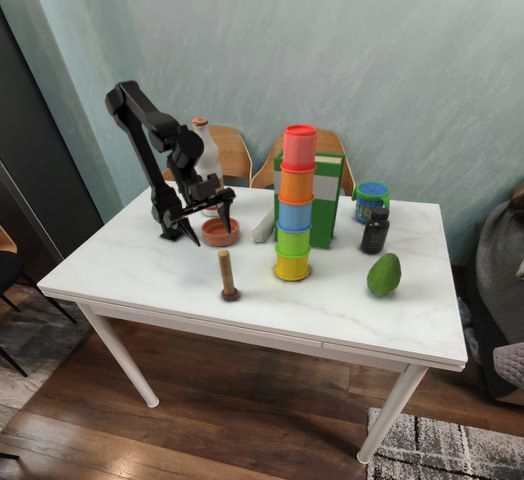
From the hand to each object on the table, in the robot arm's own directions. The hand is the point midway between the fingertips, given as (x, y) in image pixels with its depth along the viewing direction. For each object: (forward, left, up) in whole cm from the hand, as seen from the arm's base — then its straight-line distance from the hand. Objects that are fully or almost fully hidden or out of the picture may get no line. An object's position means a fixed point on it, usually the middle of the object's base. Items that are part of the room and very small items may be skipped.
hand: (215, 240), depth 79 cm
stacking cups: (+17, +12, -12) cm, 24 cm away
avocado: (+42, +14, -12) cm, 46 cm away
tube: (0, +32, -12) cm, 34 cm away
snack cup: (+27, +50, -12) cm, 58 cm away
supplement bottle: (+34, +33, -12) cm, 49 cm away
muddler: (+7, -6, -12) cm, 15 cm away
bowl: (-12, +18, -12) cm, 25 cm away
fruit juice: (-25, +32, -12) cm, 43 cm away
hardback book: (+13, +29, -12) cm, 34 cm away
